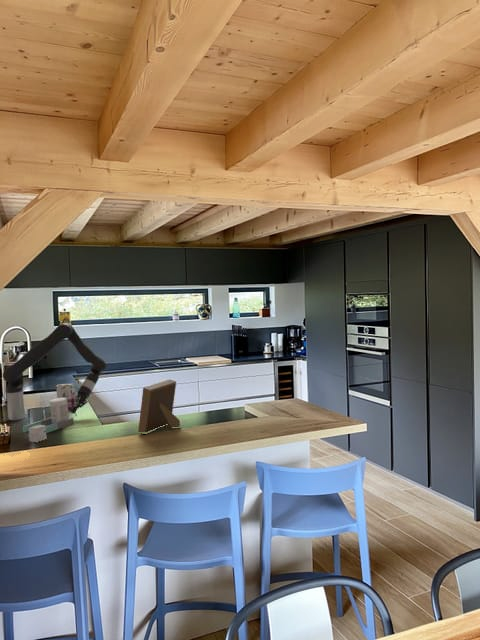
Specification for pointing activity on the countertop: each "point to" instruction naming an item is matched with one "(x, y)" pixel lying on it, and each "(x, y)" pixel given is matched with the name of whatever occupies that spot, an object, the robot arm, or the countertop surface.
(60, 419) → the supplement tub
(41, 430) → the skincare box
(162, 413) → the photo frame
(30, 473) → the countertop surface
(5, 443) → the countertop surface
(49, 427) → the chute
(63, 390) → the candy bar box
